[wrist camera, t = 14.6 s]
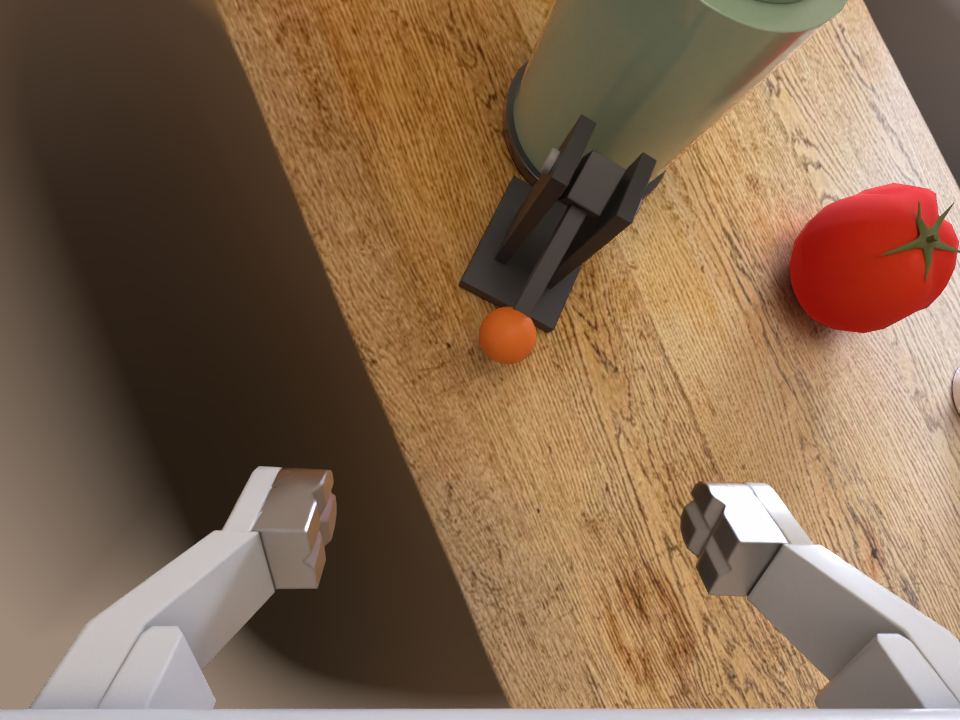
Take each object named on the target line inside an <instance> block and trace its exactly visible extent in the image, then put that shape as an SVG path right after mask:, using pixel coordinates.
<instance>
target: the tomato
mask: <svg viewBox="0 0 960 720" xmlns="http://www.w3.org/2000/svg"><path fill="white" fill-rule="evenodd" d="M953 204H954V203H953ZM953 204H952V205H953ZM952 205H951V206H950V207H949V208H948V209H947V210H946V211H945V212H944V213H943V214H942V215H941V216H939V215H938V207H937V199H936V193H934V192H933V191H931V190H930V189H926V188H921V187H915V186H909V185H903V184H897V183H892V184H888V185H884V186H879V187H875V188H871V189H867V190H864V191H862V192H860V193H858V194H856V195H854V196H850V197H847V198H844V199H841V200H838V201H836V202H834V203H832V204H829V205H827V206H826V207H824V208H823V209H822V210H821V211H820V212H819V213H818V214H817V215H816V216H814V217H813V218H812V219H811V220H810V221H809V222H808V223H807V224H806V226H805V227H804V228H803V230H802V231H801V233H800V234H799V236H798V237H797V239H796V240H795V243H794V247H793V251H792V255H791V260H790V264H789V269H790V277H791V286H792V288H793V290H794V293H795V295H796V297H797V300H798V302H799V304H800V305H801V306H802V308H803V309H804V310H805V311H806V313H807V314H808V315H809V316H810V317H811V318H812V319H813V320H815V321H817V322H819V323H820V324H822V325H824V326H827V327H830V328H833V329H837V330H843V331H851V332H859V333H866V332H871V331H876V330H880V329H884V328H886V327H888V326H890V325H892V324H894V323H896V322H898V321H900V320H902V319H903V318H905V317H907V316H909V315H911V314H913V313H914V312H917V311H919V310H922V309H925V308H927V307H929V306H930V305H931V303H932V302H933V301H934V300H935V299H936V298H937V297H938V296H939V295H940V294H941V293H942V291H943V290H944V288H945V287H946V286H947V284H948V282H949V279H950V277H951V275H952V273H953V271H954V269H955V265H956V258H957V252H958V253H960V251H959V250H958V246H959V241H958V238H957V236H956V234H955V231H954V229H953V227H952V225H951V224H950V223H949V222H947V221H946V220H944V218H945V216H946V215H947V213H948V212H949V210H950V209H951V207H952Z"/></svg>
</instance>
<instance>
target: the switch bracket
mask: <svg viewBox="0 0 960 720" xmlns="http://www.w3.org/2000/svg"><path fill="white" fill-rule="evenodd" d="M595 126H596V123H595V122H594V121H592V120H590V119H589V118H587V117H585V116H584V115H580V117H579V118H578V120H577V121H576V123H575V125H574V126H573V128H572V129H571V131H570V132H569V134H568V135H567V137H566V138H565V140H564V141H563V143H562V144H561V146H560V148H559V149H558V150H557V149H555V148H552V149H551V151H550V152H549V154H548V156H547V157H546V159H545V161H544V163H543V165H542V167H541V170H540V171H541V172H543V174H542V175H541V177H540V178H539V180H538V181H537V183H536V184H535V186H534V187H533V186H531V185H529V184H527V183H526V182H524V181H522V180H521V179H519V178H517V177H515V176H514V177H513V178H512V180H511V182H510V184H509V186H508V188H507V190H506V192H505V194H504V196H503V198H502V200H501V202H500V204H499V206H498V208H497V210H496V212H495V214H494V216H493V218H492V219H491V221H490V223H489V225H488V227H487V229H486V231H485V233H484V235H483V237H482V239H481V241H480V243H479V245H478V247H477V249H476V251H475V253H474V255H473V257H472V259H471V261H470V263H469V265H468V267H467V269H466V271H465V273H464V275H463V277H462V279H461V281H460V283H459V286H461V287H463V288H465V289H466V290H468V291H470V292H472V293H474V294H476V295H478V296H480V297H482V298H483V299H485V300H487V301H489V302H491V303H493V304H495V305H497V306H499V307H500V308H501V307H513V305H514V303H515V301H516V299H517V297H518V296H519V294H520V292H521V290H522V288H523V287H524V285H525V283H526V281H527V279H528V278H529V276H530V274H531V272H532V270H533V269H534V267H535V265H536V263H537V261H538V259H539V258H540V256H541V254H542V252H543V250H544V249H545V247H546V245H547V243H548V241H549V240H550V238H551V236H552V234H553V232H554V231H555V229H556V227H557V225H558V223H559V221H560V220H561V218H562V216H563V214H564V212H565V211H566V209H567V206H566V205H564V204H562V203H560V202H559V201H557V199H558V198H559V197H560V195H561V194H562V193H563V192H564V190H565V189H566V188H567V186H568V185H569V182H570V180H571V178H572V176H573V174H574V172H575V169H576V167H577V165H578V163H579V161H580V159H581V156H582V154H583V152H584V150H585V148H586V146H587V144H588V141H589V139H590V137H591V135H592V133H593V131H594V128H595ZM656 162H657V160H655V159H654V158H652V157H650V156H649V155H647V154H646V153H644V152H643V153H641V154H640V156H639V157H638V158H637V159H636V160H635V161H634V162H633V163H632V164H631V165H630V166H629V167H628V168H627V169H626V172H625V173H624V175H623V177H622V179H621V180H620V182H619V184H618V186H617V187H616V189H615V191H614V192H613V194H612V196H611V198H610V199H609V201H608V203H607V205H606V206H605V208H604V210H603V212H602V213H601V215H600V216H596V217H588V216H586V218H585V219H584V221H583V223H582V225H581V226H580V228H579V230H578V232H577V233H576V235H575V237H574V239H573V240H572V242H571V244H570V246H569V248H568V249H567V251H566V253H565V255H564V256H563V258H562V260H561V262H560V263H559V265H558V267H557V269H556V271H555V272H554V274H553V276H552V278H551V279H550V281H549V283H548V285H547V286H546V288H545V290H544V292H543V294H542V295H541V297H540V299H539V301H538V302H537V304H536V306H535V308H534V309H533V311H532V313H531V315H530V318H531V319H532V321H533V323H534V325H535V326H536V327H538V328H540V329H542V330H544V331H546V332H548V333H549V332H550V331H552V330H554V328H555V326H556V323H557V321H558V319H559V317H560V314H561V312H562V310H563V307H564V305H565V303H566V300H567V298H568V296H569V293H570V291H571V289H572V286H573V284H574V282H575V279H576V277H577V275H578V272H579V270H580V268H581V266H582V263H584V262H585V261H586V260H587V259H588V258H590V257H591V256H592V255H593V254H595V253H596V252H597V251H598V250H599V249H601V248H602V247H603V246H604V245H606V244H607V243H608V242H609V241H610V240H612V239H613V238H614V237H615V236H617V235H618V234H619V233H620V232H621V231H623V230H624V229H625V228H626V227H628V226H629V225H630V224H631V223H632V221H633V219H634V217H635V215H636V214H637V213H638V211H639V209H640V207H641V205H642V200H641V199H642V197H643V194H644V192H645V189H646V187H647V184H648V182H649V180H650V177H651V175H652V172H653V170H654V167H655V165H656Z"/></svg>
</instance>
